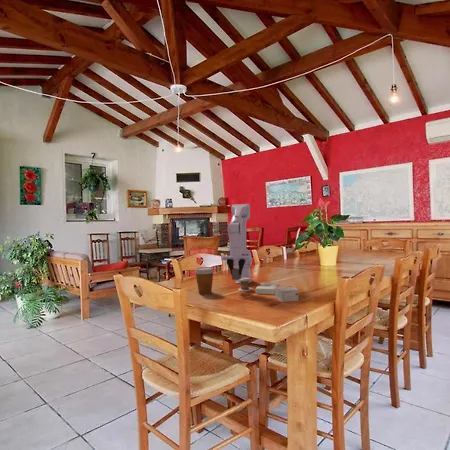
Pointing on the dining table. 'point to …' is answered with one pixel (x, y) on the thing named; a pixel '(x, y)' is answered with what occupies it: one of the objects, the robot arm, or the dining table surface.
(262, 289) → the notch board
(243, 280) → the bobbin post
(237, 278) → the block
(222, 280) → the dining table surface
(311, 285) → the dining table surface
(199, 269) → the disposable coffee cup
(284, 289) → the small box
